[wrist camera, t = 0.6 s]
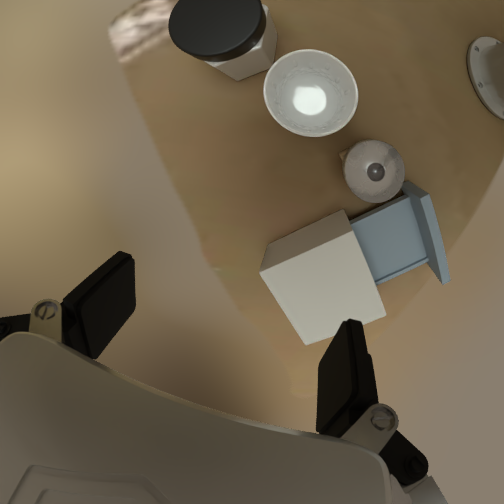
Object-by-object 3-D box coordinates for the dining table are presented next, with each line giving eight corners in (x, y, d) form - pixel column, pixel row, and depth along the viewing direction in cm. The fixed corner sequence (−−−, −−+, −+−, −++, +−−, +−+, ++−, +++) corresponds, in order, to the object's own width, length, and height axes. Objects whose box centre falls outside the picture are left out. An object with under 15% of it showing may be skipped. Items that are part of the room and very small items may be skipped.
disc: (383, 130, 23) (389, 130, 21) (406, 183, 25) (413, 188, 23) (331, 154, 25) (333, 156, 23) (357, 206, 27) (361, 213, 25)
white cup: (353, 93, 27) (374, 80, 18) (321, 146, 30) (329, 154, 22) (294, 60, 26) (290, 34, 17) (263, 113, 30) (246, 108, 21)
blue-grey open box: (408, 180, 30) (429, 194, 24) (431, 256, 33) (450, 280, 27) (331, 216, 34) (337, 237, 28) (363, 287, 37) (371, 317, 31)
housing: (343, 208, 33) (352, 230, 26) (375, 282, 37) (386, 315, 30) (267, 244, 37) (258, 272, 30) (306, 310, 41) (305, 345, 34)
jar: (264, 11, 24) (244, -35, 13) (291, 62, 26) (283, 30, 16) (198, 39, 26) (152, 9, 16) (221, 89, 29) (180, 75, 19)
